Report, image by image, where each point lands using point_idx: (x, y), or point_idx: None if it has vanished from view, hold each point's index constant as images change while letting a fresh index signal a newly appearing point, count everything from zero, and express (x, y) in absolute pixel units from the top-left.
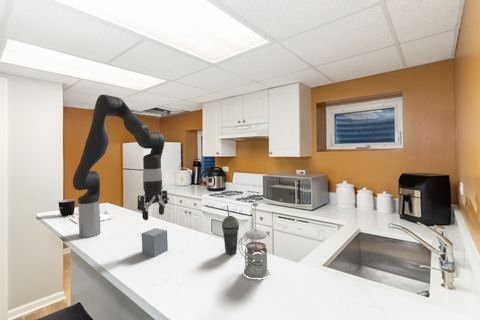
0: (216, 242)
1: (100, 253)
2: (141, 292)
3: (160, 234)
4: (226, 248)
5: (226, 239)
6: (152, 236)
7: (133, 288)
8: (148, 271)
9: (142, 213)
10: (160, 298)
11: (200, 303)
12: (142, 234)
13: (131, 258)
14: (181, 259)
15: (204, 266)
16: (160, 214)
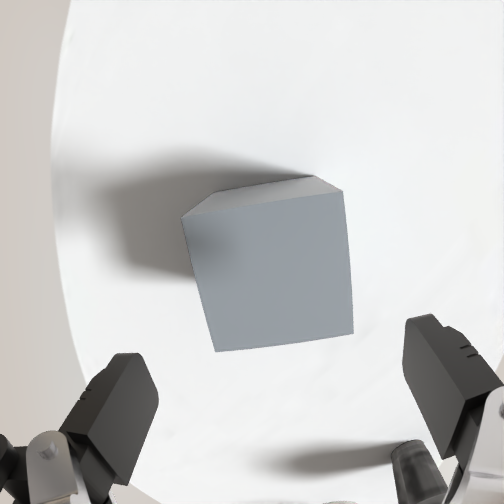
0: None
1: (94, 20)
2: None
3: (280, 340)
4: (395, 468)
5: (399, 495)
6: (212, 334)
7: None
8: (151, 363)
9: (69, 419)
10: None
11: (181, 499)
12: (186, 226)
13: (150, 197)
14: (290, 389)
15: (294, 458)
16: (405, 338)
